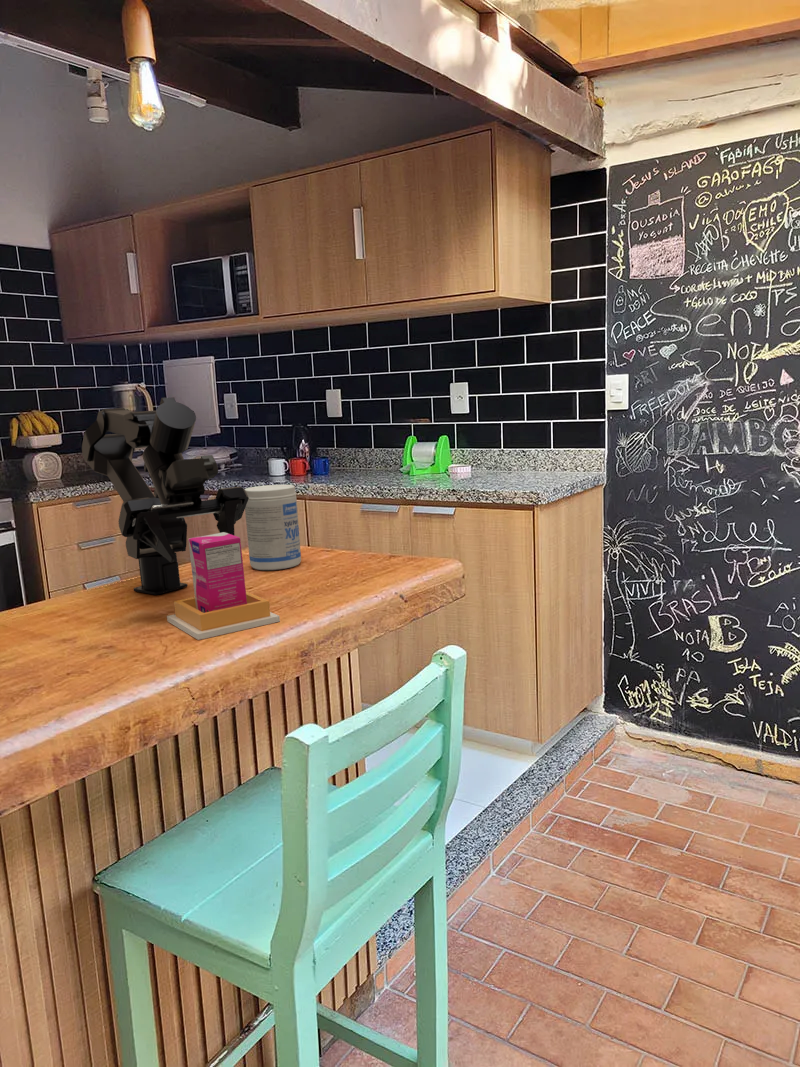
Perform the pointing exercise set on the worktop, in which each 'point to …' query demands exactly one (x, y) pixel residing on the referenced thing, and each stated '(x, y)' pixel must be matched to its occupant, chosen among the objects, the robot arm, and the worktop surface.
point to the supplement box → (217, 571)
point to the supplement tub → (272, 527)
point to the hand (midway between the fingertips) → (203, 555)
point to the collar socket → (221, 617)
